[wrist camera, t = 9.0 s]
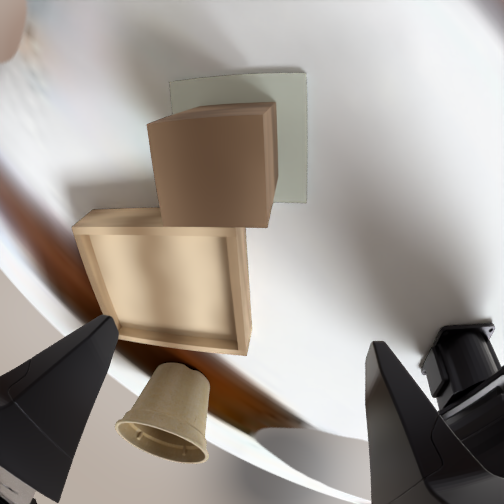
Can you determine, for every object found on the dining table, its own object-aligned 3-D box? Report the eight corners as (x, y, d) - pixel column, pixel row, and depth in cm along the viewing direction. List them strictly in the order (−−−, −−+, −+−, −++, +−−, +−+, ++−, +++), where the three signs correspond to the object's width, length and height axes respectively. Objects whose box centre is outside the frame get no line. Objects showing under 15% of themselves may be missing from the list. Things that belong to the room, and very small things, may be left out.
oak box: (244, 206, 20) (235, 227, 18) (252, 329, 26) (246, 355, 23) (93, 209, 22) (71, 227, 20) (127, 316, 28) (113, 338, 25)
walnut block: (276, 101, 16) (262, 114, 10) (278, 175, 18) (267, 227, 13) (199, 106, 17) (146, 124, 11) (206, 176, 19) (163, 226, 13)
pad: (306, 73, 15) (306, 73, 15) (306, 200, 20) (306, 203, 19) (171, 81, 17) (169, 81, 16) (185, 200, 21) (183, 202, 20)
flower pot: (243, 390, 31) (229, 461, 24) (188, 407, 35) (170, 466, 28) (177, 339, 28) (146, 415, 21) (129, 365, 32) (100, 425, 25)
